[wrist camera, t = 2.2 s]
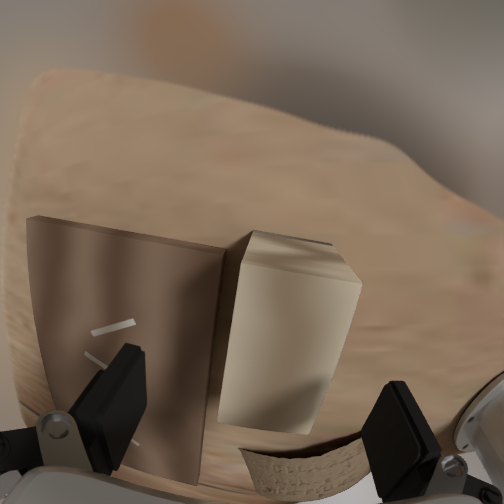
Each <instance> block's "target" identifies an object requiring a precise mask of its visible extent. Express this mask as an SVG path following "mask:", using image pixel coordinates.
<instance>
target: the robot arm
mask: <svg viewBox="0 0 504 504" xmlns="http://www.w3.org/2000/svg"><path fill="white" fill-rule="evenodd" d="M146 406H147V387H146V363H145V351H142V350H141V347H140V346H137V345H133V344H130V343H125V344H124V345H123V347H122V348H121V349H120V351H119V352H118V353H117V355H116V356H115V357H114V359H113V360H112V361H111V363H110V364H109V365H108V367H107V368H106V370H102V369H101V370H99V371H98V372H97V373H96V374H95V376H94V377H93V378H92V380H91V381H90V382H89V384H88V385H87V386H86V388H85V389H84V390H83V392H82V393H81V394H80V396H79V397H78V399H77V400H76V401H75V403H74V404H73V405H72V407H71V408H70V410H69V411H68V412H67V413H66V412H64V411H60V410H51V411H47V412H45V413H43V414H42V415H41V416H40V417H39V418H38V420H37V422H36V427H30V428H23V429H17V430H10V431H2V432H0V500H1V499H3V498H5V497H6V498H5V499H4V501H3V502H2V504H226V503H218V502H212V501H206V500H200V499H195V498H190V497H185V496H180V495H176V494H172V493H167V492H163V491H159V490H155V489H151V488H148V487H144V486H140V485H137V484H133V483H130V482H127V481H124V480H120V479H117V478H113V477H110V475H111V473H112V471H113V470H115V471H117V470H118V469H119V467H120V464H121V462H122V460H123V458H124V455H125V453H126V451H127V449H128V446H129V444H130V442H131V440H132V438H133V435H134V433H135V431H136V429H137V427H138V425H139V422H140V420H141V418H142V416H143V414H144V412H145V409H146ZM361 438H362V441H363V444H364V448H365V451H366V455H367V458H368V462H369V465H370V469H371V472H372V476H373V479H374V483H375V486H376V490H377V494H378V496H379V498H382V502H383V503H380V504H504V373H503V374H501V375H500V376H498V377H497V378H496V379H495V380H494V381H492V382H491V383H490V384H489V385H488V386H487V387H486V388H485V389H484V390H483V391H482V392H481V393H480V394H479V395H478V396H477V397H476V398H475V399H474V400H473V402H472V403H471V404H470V405H469V407H468V408H467V409H466V411H465V412H464V414H463V415H462V417H461V419H460V420H459V422H458V424H457V427H456V429H455V432H454V442H455V444H456V446H457V448H458V449H459V450H460V451H463V452H472V451H475V452H476V454H477V456H478V457H479V459H480V461H481V463H482V465H483V467H484V469H485V470H486V472H487V474H488V476H489V478H490V480H491V482H492V484H493V485H491V484H489V483H486V482H484V481H482V480H479V479H477V478H475V477H473V476H470V475H468V474H467V473H468V466H467V463H466V461H465V460H464V459H463V458H462V457H461V456H459V455H457V454H453V453H447V454H444V455H443V456H441V454H440V452H441V451H442V450H441V448H440V446H439V444H438V442H437V440H436V438H435V436H434V434H433V432H432V430H431V428H430V427H429V425H428V423H427V421H426V419H425V417H424V415H423V414H422V412H421V410H420V408H419V406H418V404H417V403H416V401H415V399H414V397H413V395H412V394H411V392H410V390H409V388H408V386H407V385H406V383H405V382H404V381H390V382H389V383H388V384H386V385H385V386H384V387H383V389H382V392H381V394H380V396H379V397H378V399H377V401H376V403H375V405H374V407H373V409H372V411H371V413H370V415H369V416H368V418H367V420H366V422H365V424H364V425H363V427H362V430H361ZM102 473H103V474H102ZM104 474H106V475H104ZM107 475H108V476H107ZM7 493H8V495H7V496H6V495H5V494H7Z"/></svg>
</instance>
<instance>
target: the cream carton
mask: <svg viewBox="0 0 504 504" xmlns="http://www.w3.org/2000/svg"><path fill="white" fill-rule="evenodd" d="M361 288H362V282H361V281H360V280H359V278H358V277H357V276H356V275H355V273H354V272H353V271H352V269H351V268H350V267H349V266H348V264H347V263H346V262H345V261H344V259H343V258H342V257H341V255H340V254H339V253H338V252H337V250H336V249H335V248H334V247H333V245H332V244H329V243H324V242H318V241H313V240H308V239H302V238H297V237H291V236H285V235H280V234H274V233H268V232H263V231H257V230H254V231H253V233H252V236H251V238H250V241H249V244H248V246H247V249H246V252H245V254H244V257H243V260H242V262H241V267H240V274H239V280H238V286H237V293H236V299H235V306H234V312H233V318H232V325H231V331H230V338H229V344H228V351H227V358H226V364H225V371H224V378H223V384H222V391H221V398H220V404H219V411H218V418H217V422H218V423H223V424H229V425H235V426H240V427H247V428H253V429H260V430H268V431H276V432H285V433H295V434H307V435H309V433H310V430H311V428H312V426H313V423H314V421H315V419H316V416H317V414H318V412H319V409H320V407H321V404H322V402H323V399H324V397H325V394H326V392H327V389H328V387H329V384H330V382H331V379H332V376H333V374H334V371H335V368H336V366H337V363H338V360H339V357H340V354H341V351H342V349H343V346H344V343H345V340H346V337H347V334H348V331H349V328H350V324H351V321H352V318H353V315H354V312H355V308H356V305H357V302H358V298H359V295H360V291H361Z"/></svg>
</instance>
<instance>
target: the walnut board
mask: <svg viewBox="0 0 504 504" xmlns="http://www.w3.org/2000/svg"><path fill="white" fill-rule="evenodd" d="M26 226H27V256H28V271H29V282H30V291H31V299H32V307H33V314H34V320H35V326H36V331H37V337H38V342H39V347H40V351H41V356H42V360H43V364H44V368H45V372H46V376H47V380H48V384H49V387H50V391H51V394H52V397H53V401H54V404H55V407H56V410H60V411H64V412H66V413H67V412H68V411H69V410H70V408H71V407H72V405H73V404H74V403H75V401H76V400H77V399H78V397H79V396H80V394H81V393H82V392H83V390H84V389H85V388H86V386H87V385H88V384H89V382H90V381H91V380H92V378H93V377H94V376H95V374H96V373H97V372H98V371H99V370H101V369H102V370H106V368H107V367H108V365H109V364H110V363H111V361H112V360H113V359H114V357H115V356H116V355H117V353H118V352H119V351H120V349H121V348H122V347H123V345H124V344H125V343H130V344H133V345H137V346H140V347H141V350H142V351H145V363H146V387H147V406H146V409H145V412H144V414H143V416H142V418H141V420H140V422H139V425H138V427H137V429H136V431H135V433H134V435H133V438H132V440H131V442H130V444H129V446H128V449H127V451H126V453H125V455H124V458H123V460H122V462H121V464H123V465H125V466H128V467H131V468H134V469H137V470H140V471H143V472H146V473H149V474H153V475H156V476H159V477H163V478H166V479H170V480H174V481H178V482H182V483H186V484H190V485H194V486H197V484H198V480H199V475H200V465H201V454H202V444H203V435H204V425H205V416H206V407H207V398H208V389H209V380H210V372H211V363H212V355H213V347H214V339H215V331H216V323H217V316H218V308H219V301H220V293H221V286H222V279H223V272H224V265H225V258H226V251H227V249H224V248H219V247H213V246H207V245H202V244H196V243H190V242H185V241H179V240H173V239H168V238H162V237H156V236H151V235H145V234H139V233H134V232H128V231H123V230H117V229H111V228H106V227H100V226H94V225H89V224H83V223H77V222H72V221H66V220H61V219H55V218H49V217H44V216H34V217H30V218H26Z"/></svg>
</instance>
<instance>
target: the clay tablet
mask: <svg viewBox="0 0 504 504" xmlns="http://www.w3.org/2000/svg"><path fill="white" fill-rule="evenodd" d="M238 449H239V448H238ZM239 450H240V451H241V452H242V456H243V458H244V460H245V462H246V465H247V467H248V469H249V472H250V475H251V478H252V481H253V483H254V486H255V489H256V492H257V493H258V494H260V495H262V496H265V497H267V498H271V499H275V500H279V501H297V502H303V501H313V500H320V499H323V498H327V497H330V496H333V495H335V494H338V493H340V492H343V491H345V490H347V489H349V488H350V487H352V486H353V485H355V484H356V483H358V482H359V481H360V480H361V479H362V478H364V477H365V476H366V475H368V474H369V473H370V472H371V469H370V465H369V462H368V458H367V455H366V451H365V448H364V444H363V441H362V438H360V439H357V440H355V441H354V442H351V443H350V444H349V445H347V446H344V447H341V448H338V449H336V450H333V451H330V452H328V453H326V454H324V455H322V456H316V457H311V458H306V459H304V458H295V459H286V458H276V457H269V456H266V455H261V454H255V453H253V452H248V451H247V450H245V451H244V450H243V449H239Z"/></svg>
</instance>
